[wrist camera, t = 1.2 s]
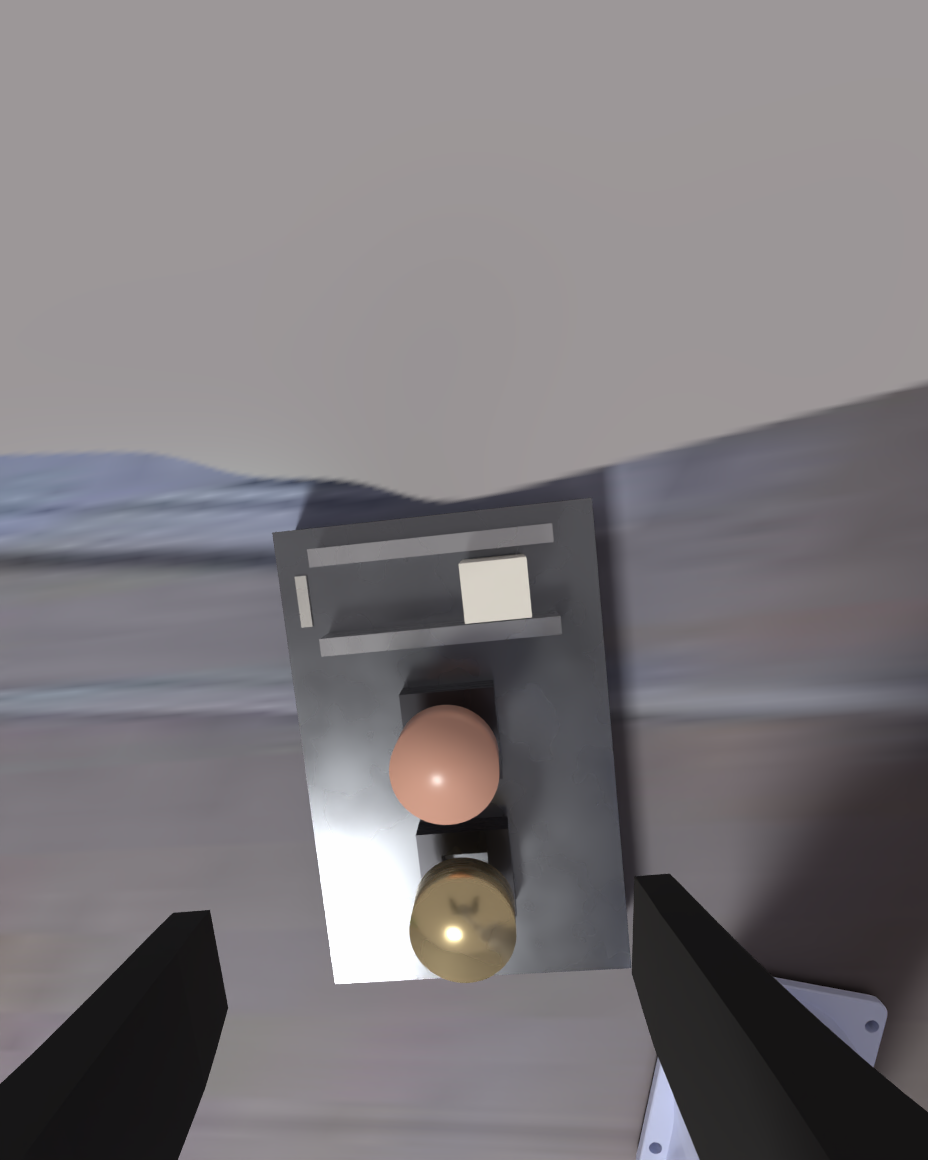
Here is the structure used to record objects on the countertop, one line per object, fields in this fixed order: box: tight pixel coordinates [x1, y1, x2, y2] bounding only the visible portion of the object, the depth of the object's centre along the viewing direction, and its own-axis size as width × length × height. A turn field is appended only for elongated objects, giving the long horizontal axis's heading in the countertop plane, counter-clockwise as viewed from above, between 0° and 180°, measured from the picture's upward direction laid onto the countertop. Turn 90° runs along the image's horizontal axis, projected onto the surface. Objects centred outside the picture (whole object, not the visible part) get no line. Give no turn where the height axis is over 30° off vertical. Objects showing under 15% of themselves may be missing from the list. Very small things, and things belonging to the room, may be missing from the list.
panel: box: [272, 498, 631, 984], centre depth 19 cm, size 17×11×3 cm, turn 6°
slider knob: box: [459, 553, 532, 624], centre depth 17 cm, size 2×2×2 cm
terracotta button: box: [389, 705, 499, 825], centre depth 16 cm, size 3×3×2 cm
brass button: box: [409, 857, 516, 983], centre depth 17 cm, size 3×3×2 cm
